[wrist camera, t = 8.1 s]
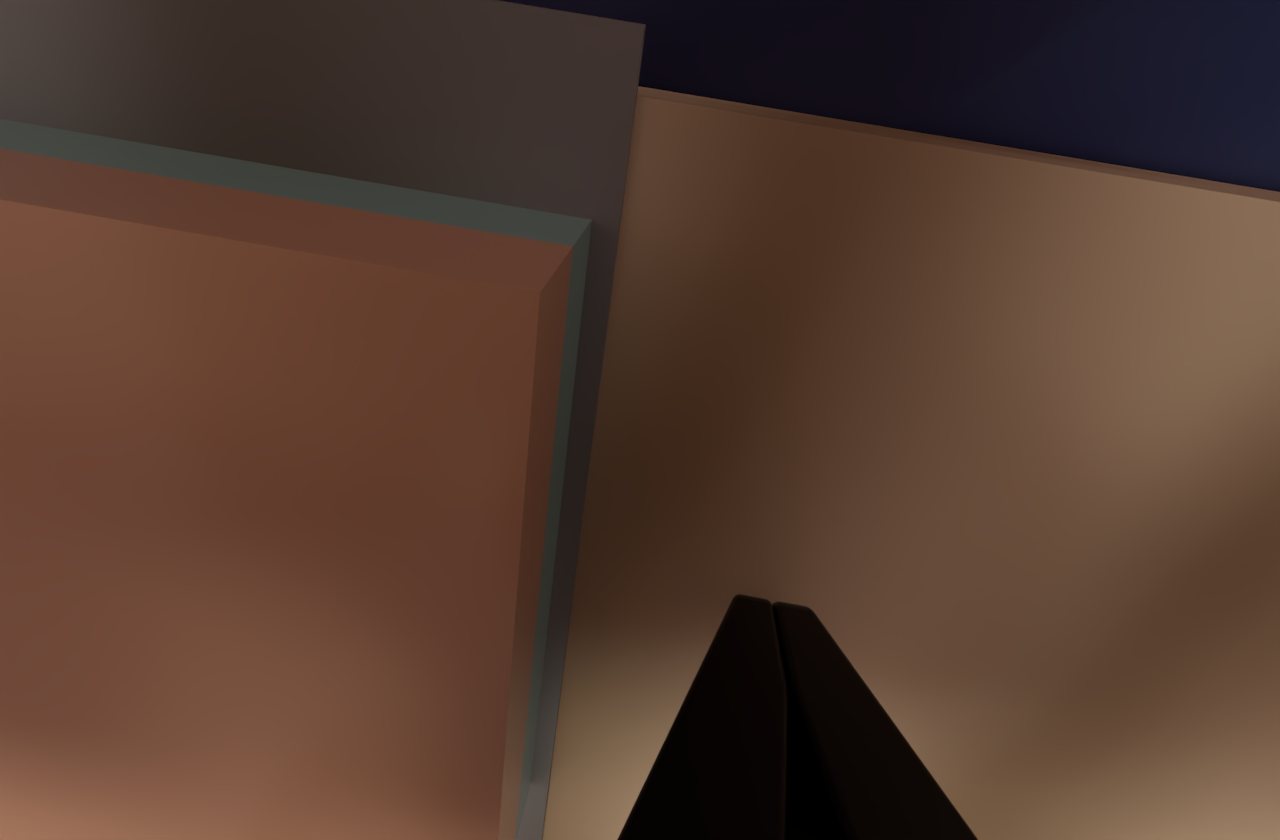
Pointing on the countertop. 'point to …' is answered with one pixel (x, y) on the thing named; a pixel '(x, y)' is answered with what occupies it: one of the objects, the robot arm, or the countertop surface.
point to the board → (816, 394)
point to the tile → (272, 496)
